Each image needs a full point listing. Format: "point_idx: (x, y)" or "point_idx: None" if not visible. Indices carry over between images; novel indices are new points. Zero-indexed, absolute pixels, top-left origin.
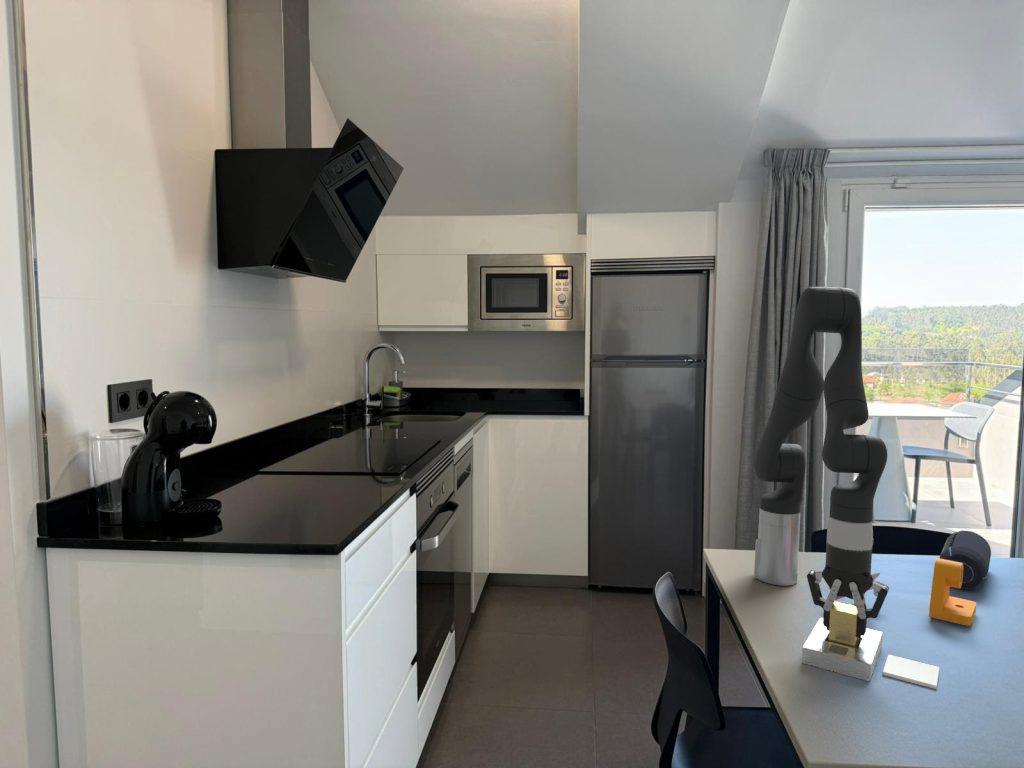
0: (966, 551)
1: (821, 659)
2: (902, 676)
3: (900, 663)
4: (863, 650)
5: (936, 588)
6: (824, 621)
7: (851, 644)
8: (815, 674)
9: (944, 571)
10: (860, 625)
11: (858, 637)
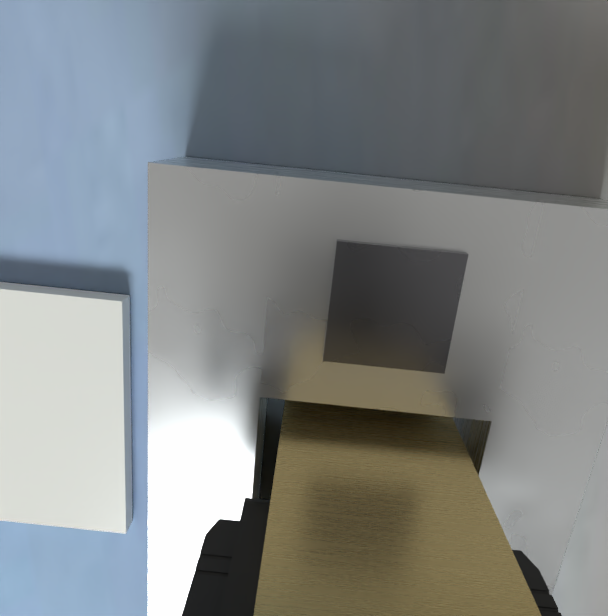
0: None
1: (498, 192)
2: (16, 295)
3: (54, 457)
4: (224, 394)
5: None
6: (537, 584)
7: (305, 430)
8: (516, 67)
9: None
10: (230, 579)
11: (258, 499)
